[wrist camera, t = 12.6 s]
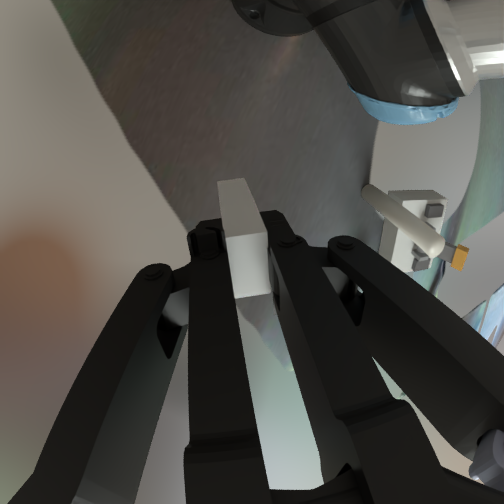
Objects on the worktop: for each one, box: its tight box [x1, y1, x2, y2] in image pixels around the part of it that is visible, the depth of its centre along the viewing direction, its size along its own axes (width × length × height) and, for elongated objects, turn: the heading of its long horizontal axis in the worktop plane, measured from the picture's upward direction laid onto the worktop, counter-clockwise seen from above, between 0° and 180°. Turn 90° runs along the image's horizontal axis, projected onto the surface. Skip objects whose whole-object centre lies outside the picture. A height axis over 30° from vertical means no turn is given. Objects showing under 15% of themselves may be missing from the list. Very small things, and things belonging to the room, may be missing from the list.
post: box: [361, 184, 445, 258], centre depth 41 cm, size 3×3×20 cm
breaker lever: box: [417, 242, 469, 271], centre depth 47 cm, size 4×2×10 cm
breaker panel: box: [378, 190, 448, 273], centre depth 52 cm, size 16×12×8 cm
